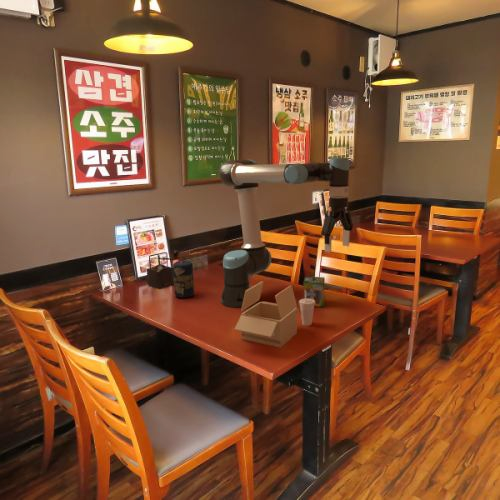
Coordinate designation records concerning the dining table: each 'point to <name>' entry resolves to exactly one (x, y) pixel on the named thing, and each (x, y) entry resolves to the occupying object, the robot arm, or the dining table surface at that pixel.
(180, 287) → the canister
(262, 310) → the carton
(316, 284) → the chalk box
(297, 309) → the flap
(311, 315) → the smoothie
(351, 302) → the dining table surface
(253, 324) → the flap
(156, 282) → the dark condiment caddy
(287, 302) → the flap
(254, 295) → the flap
